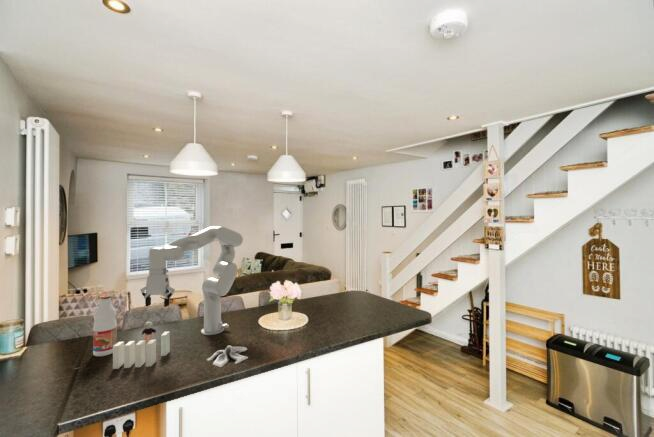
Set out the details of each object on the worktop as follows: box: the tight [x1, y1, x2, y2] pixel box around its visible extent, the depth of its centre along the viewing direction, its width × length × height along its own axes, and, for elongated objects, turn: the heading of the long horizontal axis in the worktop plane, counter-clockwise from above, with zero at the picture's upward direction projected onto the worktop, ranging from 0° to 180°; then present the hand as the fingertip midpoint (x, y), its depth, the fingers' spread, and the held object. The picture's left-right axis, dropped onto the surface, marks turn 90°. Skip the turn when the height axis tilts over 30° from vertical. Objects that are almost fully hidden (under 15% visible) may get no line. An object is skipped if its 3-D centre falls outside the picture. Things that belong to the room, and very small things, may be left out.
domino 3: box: [134, 339, 146, 368], centre depth 136 cm, size 2×5×10 cm, turn 9°
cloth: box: [206, 345, 249, 368], centre depth 143 cm, size 22×19×6 cm
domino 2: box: [123, 340, 136, 369], centre depth 135 cm, size 2×5×10 cm, turn 9°
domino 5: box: [160, 330, 171, 357], centre depth 147 cm, size 2×5×10 cm, turn 9°
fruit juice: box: [92, 294, 118, 357], centre depth 148 cm, size 9×9×28 cm
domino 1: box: [112, 340, 125, 370], centre depth 134 cm, size 2×5×10 cm, turn 9°
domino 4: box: [145, 339, 157, 368], centre depth 136 cm, size 2×5×10 cm, turn 9°
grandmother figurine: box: [140, 321, 158, 344], centre depth 156 cm, size 8×4×13 cm, turn 117°
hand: (157, 305), depth 151 cm, fingers open, 9 cm apart
